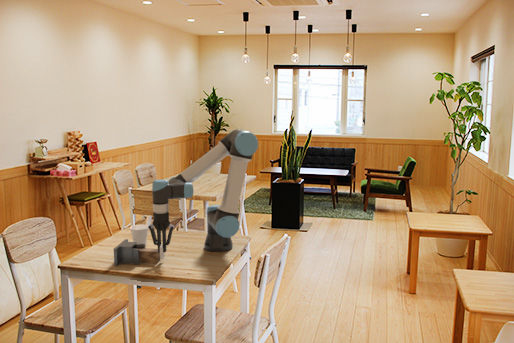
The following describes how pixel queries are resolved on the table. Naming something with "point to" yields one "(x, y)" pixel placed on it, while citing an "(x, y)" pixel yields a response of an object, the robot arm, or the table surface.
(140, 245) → the endcap
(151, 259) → the slat
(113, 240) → the table surface
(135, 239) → the cup
